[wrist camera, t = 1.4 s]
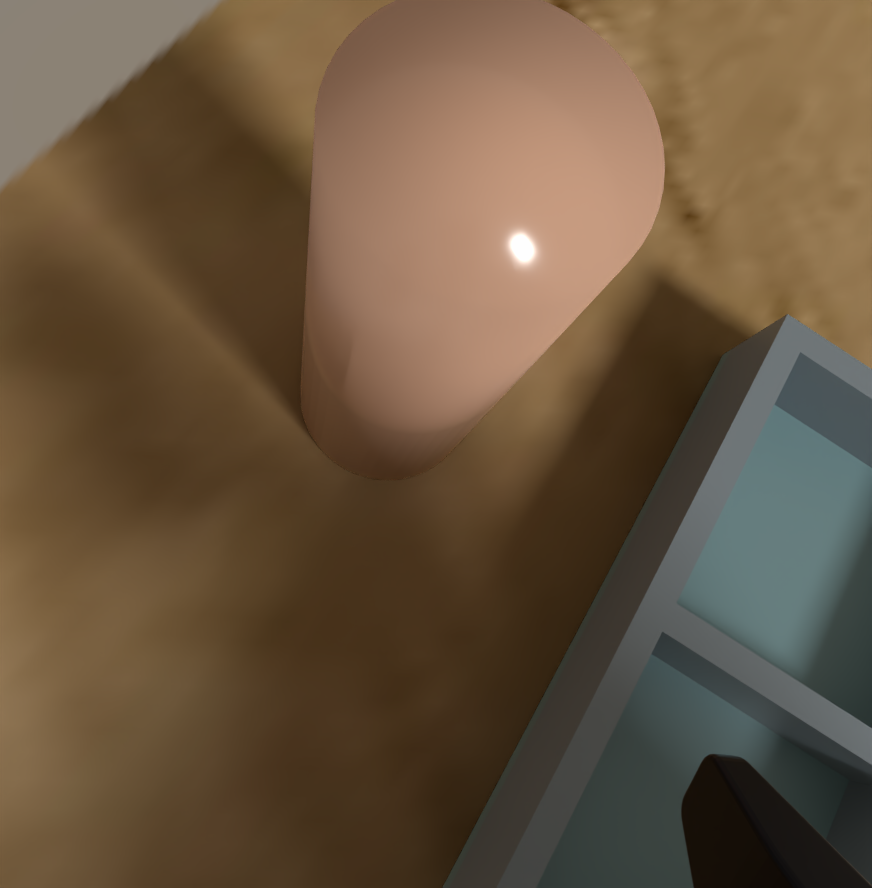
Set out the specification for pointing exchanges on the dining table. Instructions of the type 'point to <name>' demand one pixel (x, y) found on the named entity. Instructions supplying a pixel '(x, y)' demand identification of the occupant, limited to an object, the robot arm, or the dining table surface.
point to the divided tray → (712, 639)
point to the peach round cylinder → (461, 217)
